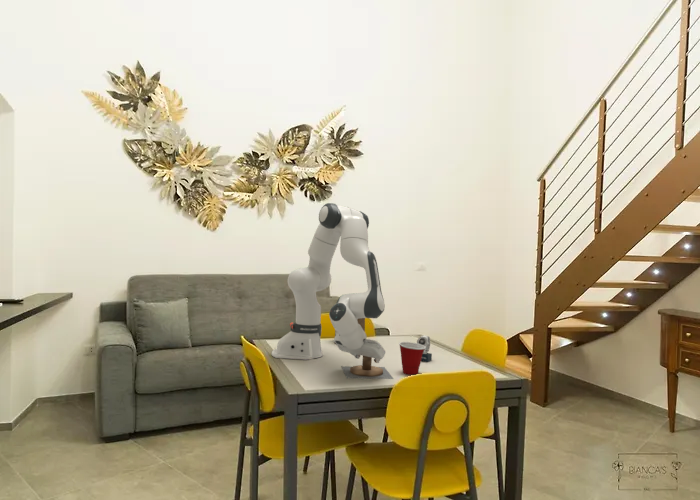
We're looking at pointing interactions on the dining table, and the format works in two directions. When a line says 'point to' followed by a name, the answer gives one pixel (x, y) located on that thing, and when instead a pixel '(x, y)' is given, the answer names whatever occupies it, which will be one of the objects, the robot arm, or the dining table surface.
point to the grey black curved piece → (426, 342)
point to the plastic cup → (411, 357)
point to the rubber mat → (349, 375)
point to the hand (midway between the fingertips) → (367, 359)
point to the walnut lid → (366, 368)
